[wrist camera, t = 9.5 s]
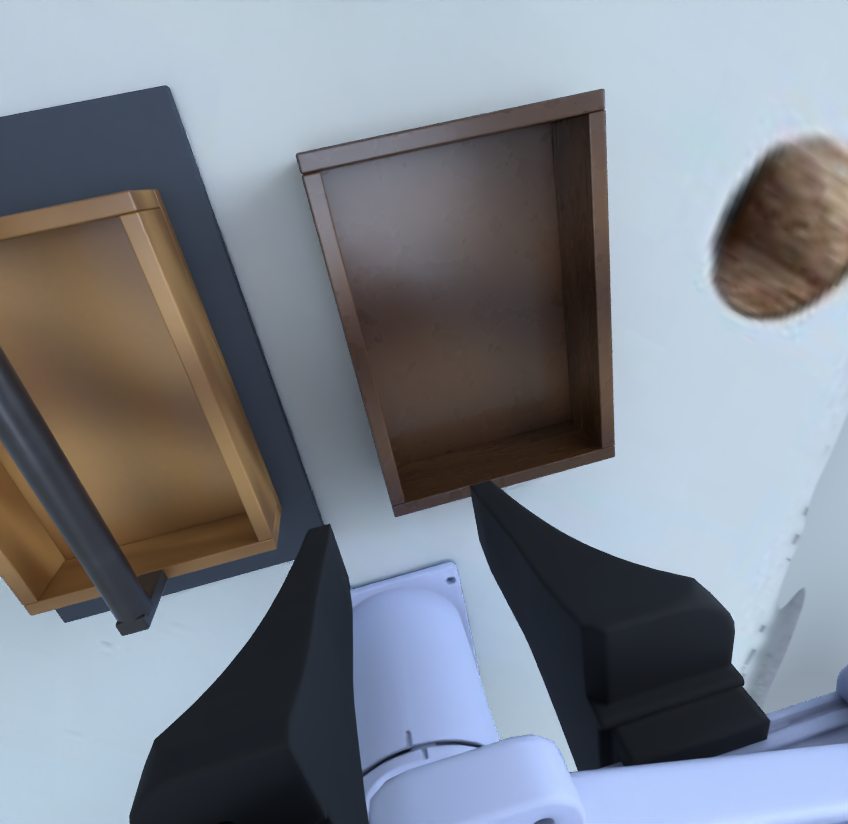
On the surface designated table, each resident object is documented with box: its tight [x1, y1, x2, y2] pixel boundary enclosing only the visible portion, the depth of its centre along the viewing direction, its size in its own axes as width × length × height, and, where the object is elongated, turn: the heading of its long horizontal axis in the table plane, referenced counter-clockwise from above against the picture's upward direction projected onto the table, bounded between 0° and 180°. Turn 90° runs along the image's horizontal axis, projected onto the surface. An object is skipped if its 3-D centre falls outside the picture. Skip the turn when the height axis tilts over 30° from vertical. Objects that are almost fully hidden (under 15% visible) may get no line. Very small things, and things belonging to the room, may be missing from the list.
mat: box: [0, 86, 323, 623], centre depth 21 cm, size 20×13×1 cm, turn 11°
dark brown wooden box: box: [296, 89, 615, 517], centre depth 20 cm, size 14×10×4 cm
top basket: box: [0, 189, 282, 636], centre depth 18 cm, size 14×10×6 cm
